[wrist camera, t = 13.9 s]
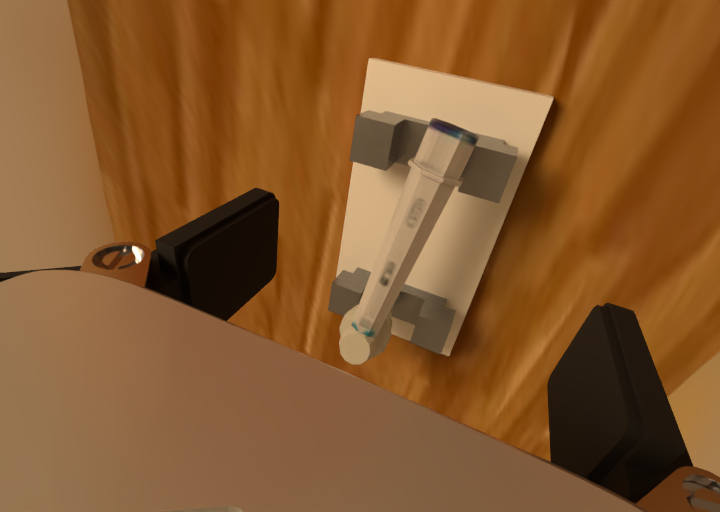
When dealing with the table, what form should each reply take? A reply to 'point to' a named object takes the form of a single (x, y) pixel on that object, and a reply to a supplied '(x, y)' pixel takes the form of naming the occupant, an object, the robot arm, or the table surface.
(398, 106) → the stand board
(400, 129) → the v blocks
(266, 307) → the table surface
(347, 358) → the white handheld device
